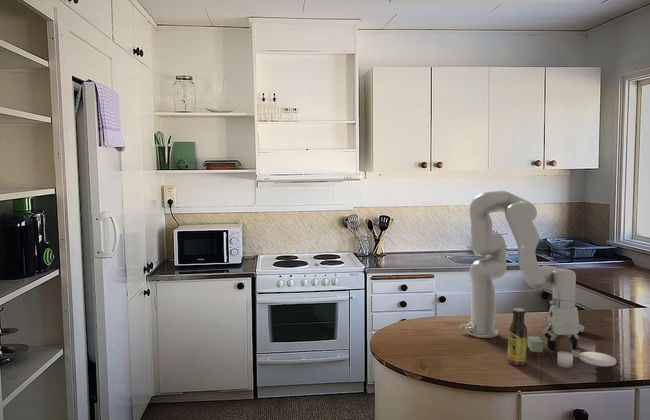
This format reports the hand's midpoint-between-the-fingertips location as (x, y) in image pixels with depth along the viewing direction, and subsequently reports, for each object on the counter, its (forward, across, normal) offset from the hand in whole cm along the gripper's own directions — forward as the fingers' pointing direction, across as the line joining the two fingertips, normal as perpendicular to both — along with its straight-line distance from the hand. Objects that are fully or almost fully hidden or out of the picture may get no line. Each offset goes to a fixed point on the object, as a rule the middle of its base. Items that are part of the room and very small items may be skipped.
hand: (562, 349), depth 188 cm
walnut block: (+3, +9, +8) cm, 12 cm away
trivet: (+2, +10, -6) cm, 12 cm away
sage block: (+3, -6, +8) cm, 10 cm away
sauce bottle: (+3, -20, -4) cm, 21 cm away
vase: (+3, 0, 0) cm, 3 cm away
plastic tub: (+3, -4, -8) cm, 9 cm away
